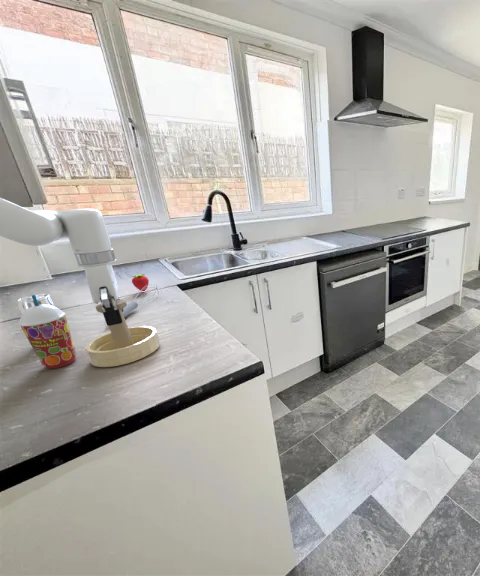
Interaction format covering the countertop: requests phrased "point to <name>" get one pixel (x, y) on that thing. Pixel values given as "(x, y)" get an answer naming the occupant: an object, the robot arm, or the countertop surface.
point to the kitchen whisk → (134, 305)
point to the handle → (119, 327)
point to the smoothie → (48, 334)
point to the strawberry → (140, 282)
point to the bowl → (109, 355)
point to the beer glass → (28, 301)
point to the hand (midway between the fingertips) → (115, 318)
